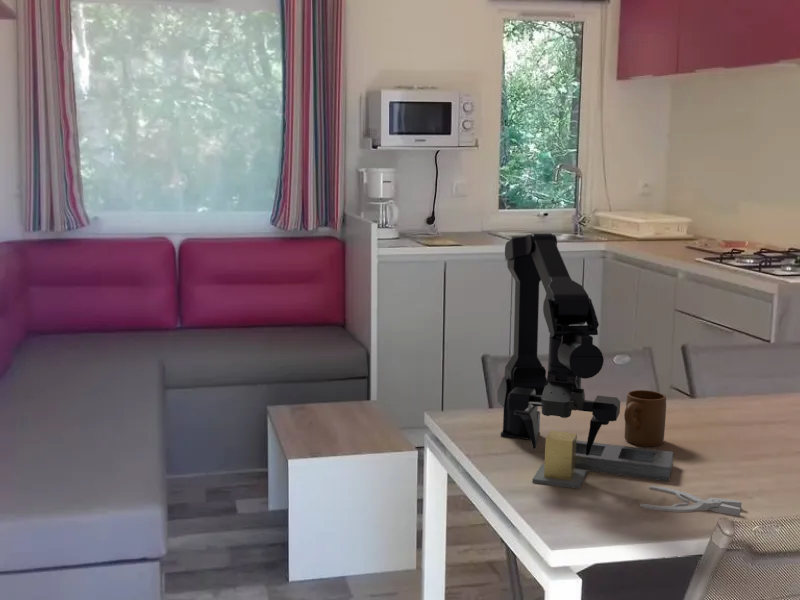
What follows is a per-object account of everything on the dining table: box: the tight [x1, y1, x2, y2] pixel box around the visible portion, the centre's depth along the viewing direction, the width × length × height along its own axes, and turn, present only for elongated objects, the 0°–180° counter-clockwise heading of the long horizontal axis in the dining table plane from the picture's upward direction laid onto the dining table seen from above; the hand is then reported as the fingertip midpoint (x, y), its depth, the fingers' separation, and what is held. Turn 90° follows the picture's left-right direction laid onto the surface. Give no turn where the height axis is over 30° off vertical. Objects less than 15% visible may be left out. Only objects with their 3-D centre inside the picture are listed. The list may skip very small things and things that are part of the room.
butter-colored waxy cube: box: [544, 430, 578, 481], centre depth 165 cm, size 5×5×7 cm
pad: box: [531, 464, 587, 490], centre depth 166 cm, size 8×8×1 cm
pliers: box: [639, 485, 743, 517], centre depth 155 cm, size 10×2×15 cm
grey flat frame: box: [575, 439, 674, 482], centre depth 172 cm, size 20×9×2 cm, turn 70°
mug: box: [623, 389, 667, 447], centre depth 185 cm, size 12×8×9 cm, turn 140°
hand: (560, 451), depth 165 cm, fingers open, 9 cm apart
